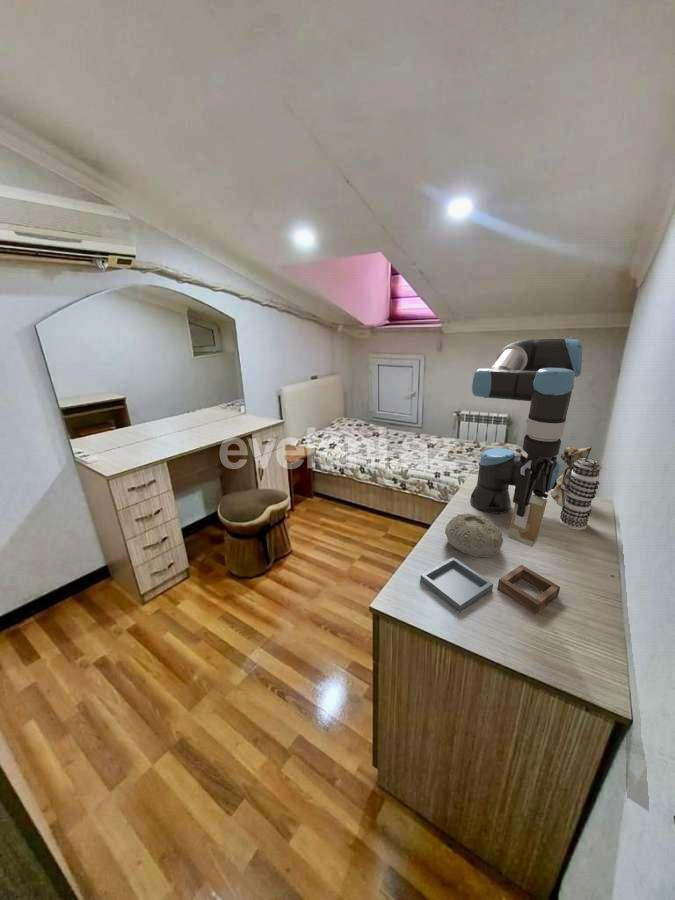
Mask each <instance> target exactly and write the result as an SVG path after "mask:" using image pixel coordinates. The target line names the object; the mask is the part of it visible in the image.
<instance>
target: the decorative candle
mask: <svg viewBox="0 0 675 900" xmlns="http://www.w3.org/2000/svg"><path fill="white" fill-rule="evenodd" d="M602 468H603V466H602V465H601V464H600V462H599V461H597V460H596V459H592V458H590V457H588V458H580V459H578V460H577V461H574V467H573V470H572V471H571V472H569V473H570V474H569V476H568V479H569V480H568V483H567V487H566V488H568V489H567V490H566V494H567V497H566V499H565V503H563V506H561V511H560V516H559V522H560V524H561V525H563V526H564V527H566V528H569V529H572V530H577V531H578V530H579V531H582V530H585V529H587V525H588V523H589V522H590V521H589V517H590V514H591V511H592V509H591V507H592V501H594V499H595V498H596V494H597V491H596V490H598V489H599V486H598V485H600V482H599V477H600V472H601V469H602Z"/></svg>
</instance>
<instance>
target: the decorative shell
mask: <svg viewBox="0 0 675 900" xmlns="http://www.w3.org/2000/svg"><path fill="white" fill-rule="evenodd" d="M445 526H446V527H445V529H444V533H445V535H446V538H447V541H448V543H449V544H450V545H451V546H452V547H453V548H455V549H456V550H457V551H458V550H459V552H462V553H464V554H466V555H469V556H473V557H474V556H475V557H481V558H486V557H490V556H493V555H496V554H497V553H498V552H500V550H501V548H502V545H503V543H504V538H503V533H502V532H501V531H500V529H499V528H498V527H497V525H496V524H495V523H494V522H493V521H491V520H490V519H487V518H486V517H484V516H482V515H478V514H472V513H469V512H468V513H461V514H457V515H456V516H453V517H452V518H451V519H450V520H449V522H448V523H447V524H446V525H445Z"/></svg>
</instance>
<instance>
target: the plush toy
mask: <svg viewBox="0 0 675 900" xmlns="http://www.w3.org/2000/svg"><path fill="white" fill-rule="evenodd" d="M591 451H592V446H588V447H584V448H577V447H575V446H572V445H571V446H570V447H569V446H566V447H565V449H564V450H563V453H561V455H560V458H561V461H564V463H565V464H566V465H567V467H566V468H565V470H564V472H562V474H561V475H560V476H559V477H557V479H556V481H555V483H556V485H555V487H553V490H554V491H553V490H552V491H550V496H551V498H553V500H554V501H555V503H556V504H557V505H558V506H559V507H563V503H565V499H566V497H567V494H566V490H567V489H568V488H566V487H567V483H568V480H569V479H568V476H569V474H570V473H569V472H571V471H572V470H573V467H574V461H577V460H578V459H580V458H589V455H590V453H591Z"/></svg>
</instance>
